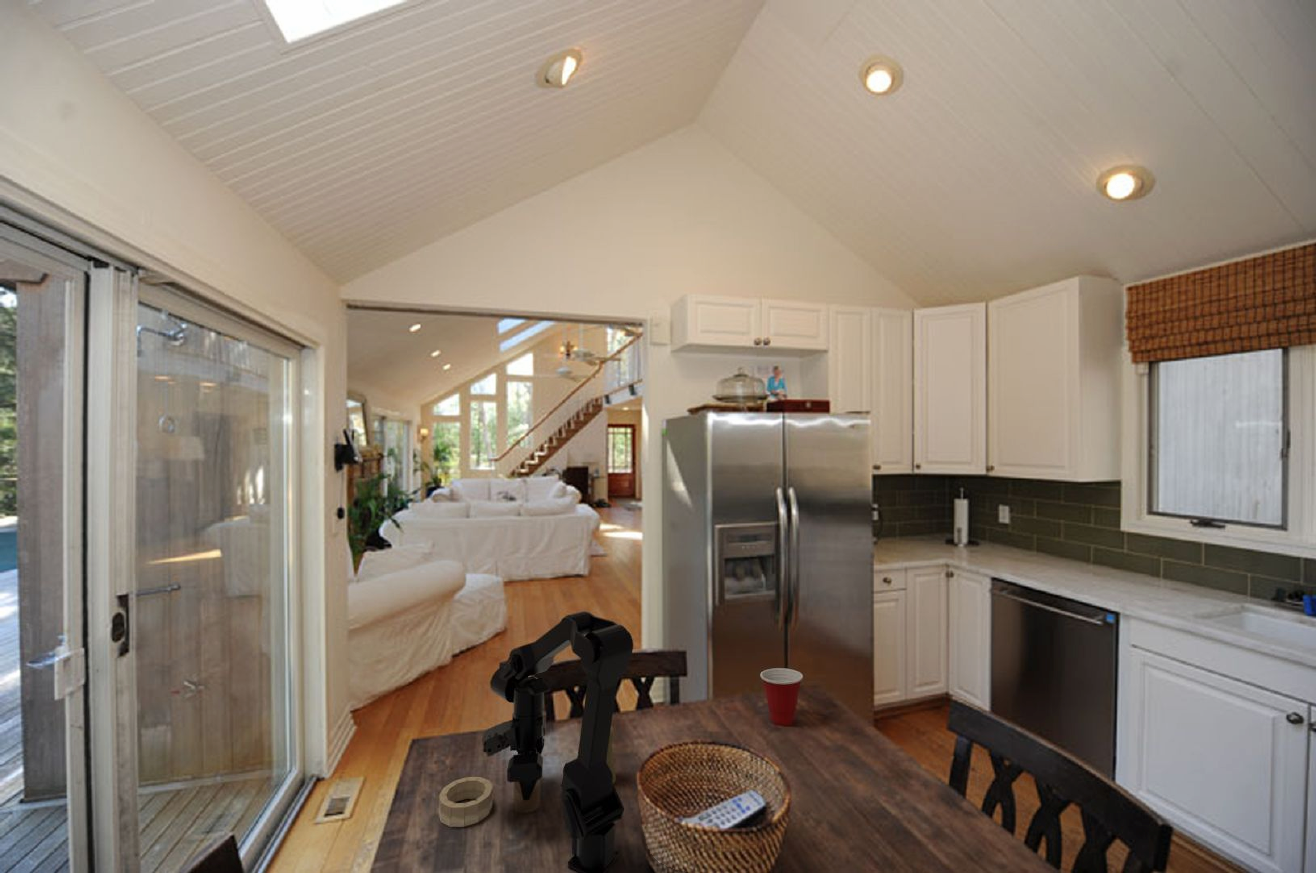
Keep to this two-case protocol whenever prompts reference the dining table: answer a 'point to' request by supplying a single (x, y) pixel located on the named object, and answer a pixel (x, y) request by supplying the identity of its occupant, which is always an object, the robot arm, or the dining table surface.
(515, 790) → the walnut peg
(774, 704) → the plastic cup
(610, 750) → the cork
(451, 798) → the wooden ring
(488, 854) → the dining table surface
